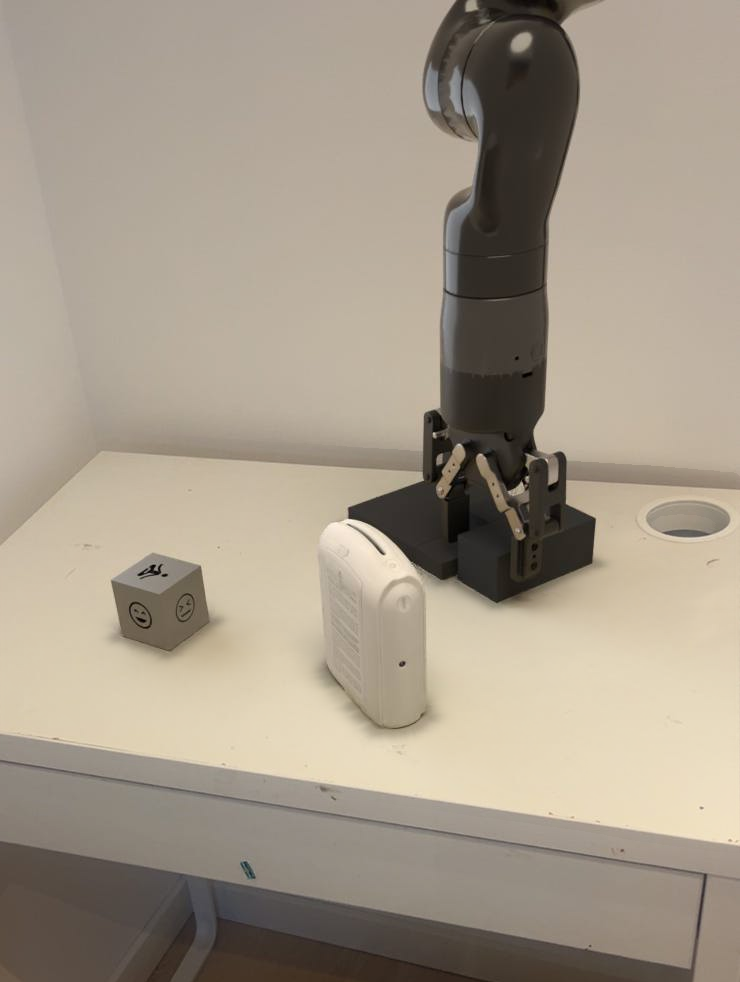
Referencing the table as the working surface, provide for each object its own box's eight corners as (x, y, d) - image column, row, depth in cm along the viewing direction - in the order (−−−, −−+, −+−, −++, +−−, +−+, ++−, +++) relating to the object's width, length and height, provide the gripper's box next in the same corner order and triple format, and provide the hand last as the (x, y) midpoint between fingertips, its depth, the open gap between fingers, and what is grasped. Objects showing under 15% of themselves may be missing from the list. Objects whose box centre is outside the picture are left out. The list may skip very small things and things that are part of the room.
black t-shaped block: (524, 527, 101) (526, 484, 99) (592, 563, 95) (596, 518, 93) (431, 563, 98) (431, 520, 95) (496, 602, 92) (497, 557, 89)
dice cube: (162, 607, 96) (152, 552, 93) (209, 621, 93) (200, 565, 90) (122, 635, 93) (110, 580, 90) (169, 651, 90) (159, 594, 87)
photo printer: (436, 718, 80) (434, 556, 73) (380, 737, 79) (372, 574, 71) (370, 650, 88) (362, 497, 80) (319, 666, 87) (305, 512, 79)
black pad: (454, 484, 109) (454, 469, 108) (555, 535, 99) (556, 519, 99) (348, 522, 105) (347, 507, 104) (442, 580, 95) (442, 563, 94)
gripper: (391, 341, 86) (398, 541, 96) (517, 391, 76) (510, 608, 86) (472, 316, 88) (471, 514, 99) (604, 362, 78) (587, 576, 89)
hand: (489, 558), depth 92 cm, fingers open, 8 cm apart
